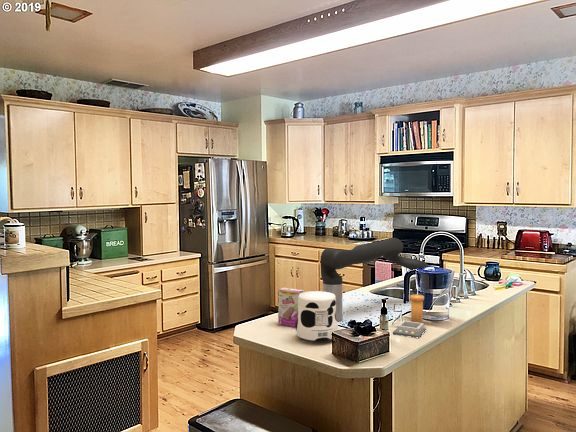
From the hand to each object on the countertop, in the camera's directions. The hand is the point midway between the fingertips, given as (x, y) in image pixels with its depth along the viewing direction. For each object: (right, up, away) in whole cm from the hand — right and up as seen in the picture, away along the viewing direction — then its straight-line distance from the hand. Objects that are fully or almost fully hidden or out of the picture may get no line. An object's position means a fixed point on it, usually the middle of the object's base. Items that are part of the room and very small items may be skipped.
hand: (424, 293), depth 220 cm
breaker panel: (-12, -13, -19) cm, 26 cm away
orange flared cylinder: (-6, -13, -10) cm, 17 cm away
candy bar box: (-62, -13, -9) cm, 64 cm away
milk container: (-52, -14, -26) cm, 60 cm away
